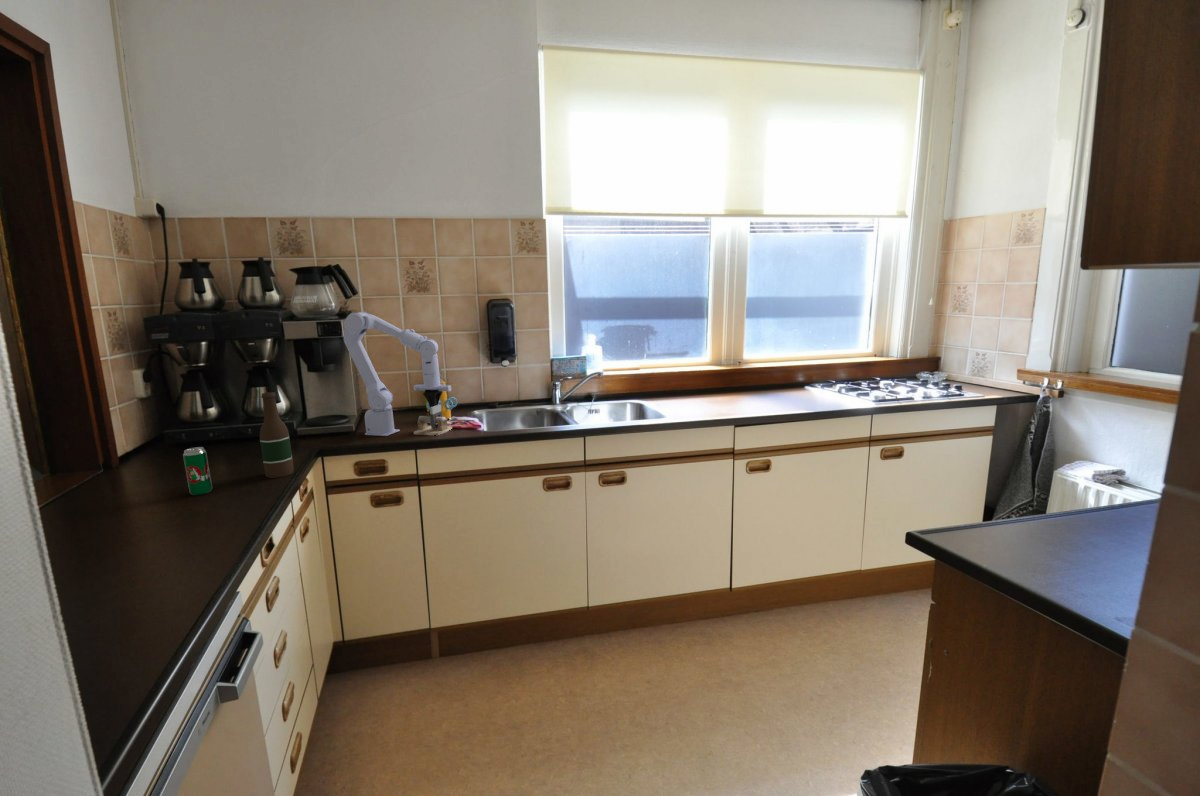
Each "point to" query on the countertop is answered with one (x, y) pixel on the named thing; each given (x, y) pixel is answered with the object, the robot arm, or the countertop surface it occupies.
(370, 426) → the robot arm
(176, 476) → the countertop surface
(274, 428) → the beer bottle
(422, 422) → the pipe rig
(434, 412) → the grey bent plate
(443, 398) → the yellow blue ringed piece
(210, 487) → the soda can
